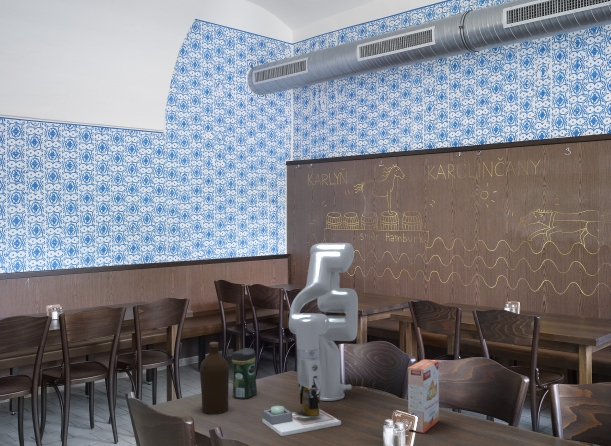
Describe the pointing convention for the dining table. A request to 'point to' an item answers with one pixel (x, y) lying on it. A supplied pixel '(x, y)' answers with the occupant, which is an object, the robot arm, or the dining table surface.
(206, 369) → the olive oil
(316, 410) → the condiment
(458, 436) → the dining table surface
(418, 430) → the cracker box
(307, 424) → the board
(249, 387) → the coffee jar
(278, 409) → the button
